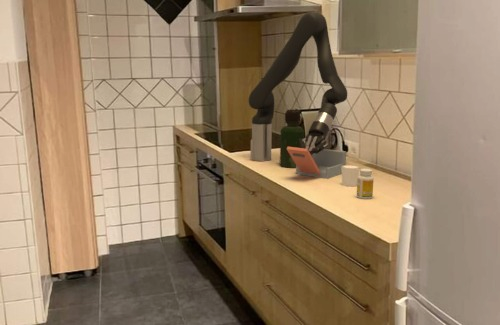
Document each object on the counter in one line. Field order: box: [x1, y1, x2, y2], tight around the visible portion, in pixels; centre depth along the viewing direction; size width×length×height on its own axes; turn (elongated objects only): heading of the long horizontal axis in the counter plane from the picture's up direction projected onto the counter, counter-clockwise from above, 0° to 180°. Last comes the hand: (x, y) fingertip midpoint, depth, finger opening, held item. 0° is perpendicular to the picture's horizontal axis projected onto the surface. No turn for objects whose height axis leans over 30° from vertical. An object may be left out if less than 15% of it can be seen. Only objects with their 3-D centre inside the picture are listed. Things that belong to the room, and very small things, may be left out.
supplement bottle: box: [356, 168, 375, 200], centre depth 175 cm, size 5×5×10 cm
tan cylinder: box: [341, 164, 360, 187], centre depth 193 cm, size 7×7×7 cm
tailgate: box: [287, 147, 320, 174], centre depth 201 cm, size 2×9×15 cm
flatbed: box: [295, 148, 347, 179], centre depth 213 cm, size 15×15×9 cm
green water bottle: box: [279, 109, 305, 169], centre depth 226 cm, size 10×10×25 cm
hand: (305, 160), depth 202 cm, fingers closed
